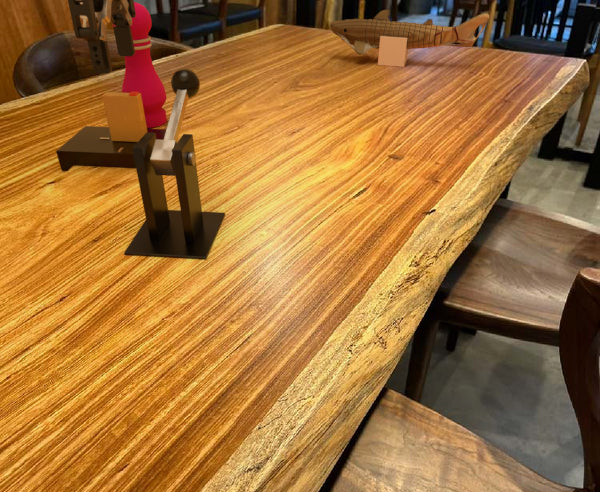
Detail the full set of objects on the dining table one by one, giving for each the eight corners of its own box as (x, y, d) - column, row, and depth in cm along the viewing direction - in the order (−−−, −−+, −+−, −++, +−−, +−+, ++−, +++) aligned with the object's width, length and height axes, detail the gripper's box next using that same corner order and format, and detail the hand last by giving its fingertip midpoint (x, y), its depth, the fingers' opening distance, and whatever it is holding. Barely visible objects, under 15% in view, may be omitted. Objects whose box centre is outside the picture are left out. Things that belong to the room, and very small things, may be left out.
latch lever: (177, 85, 63) (171, 61, 60) (204, 85, 63) (199, 62, 60) (152, 177, 57) (143, 156, 54) (181, 179, 56) (174, 157, 53)
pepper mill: (155, 131, 89) (133, -5, 77) (118, 126, 91) (91, -8, 79) (177, 118, 95) (160, -12, 82) (142, 113, 97) (120, -15, 84)
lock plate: (61, 170, 77) (55, 149, 75) (89, 144, 85) (85, 124, 83) (156, 175, 76) (152, 153, 74) (176, 148, 84) (173, 128, 82)
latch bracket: (154, 217, 66) (136, 122, 59) (226, 221, 65) (217, 125, 58) (125, 262, 58) (101, 158, 51) (206, 266, 57) (194, 162, 50)
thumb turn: (111, 141, 78) (101, 93, 74) (115, 137, 79) (105, 90, 75) (145, 142, 77) (136, 94, 73) (148, 138, 79) (140, 91, 75)
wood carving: (478, 74, 118) (489, 17, 111) (324, 62, 125) (326, 8, 118) (479, 64, 125) (489, 10, 118) (333, 53, 132) (335, 2, 125)
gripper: (80, -87, 68) (109, 50, 78) (24, -83, 57) (65, 78, 66) (138, -87, 67) (159, 51, 77) (92, -83, 56) (124, 79, 66)
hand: (116, 63), depth 72 cm, fingers open, 8 cm apart
